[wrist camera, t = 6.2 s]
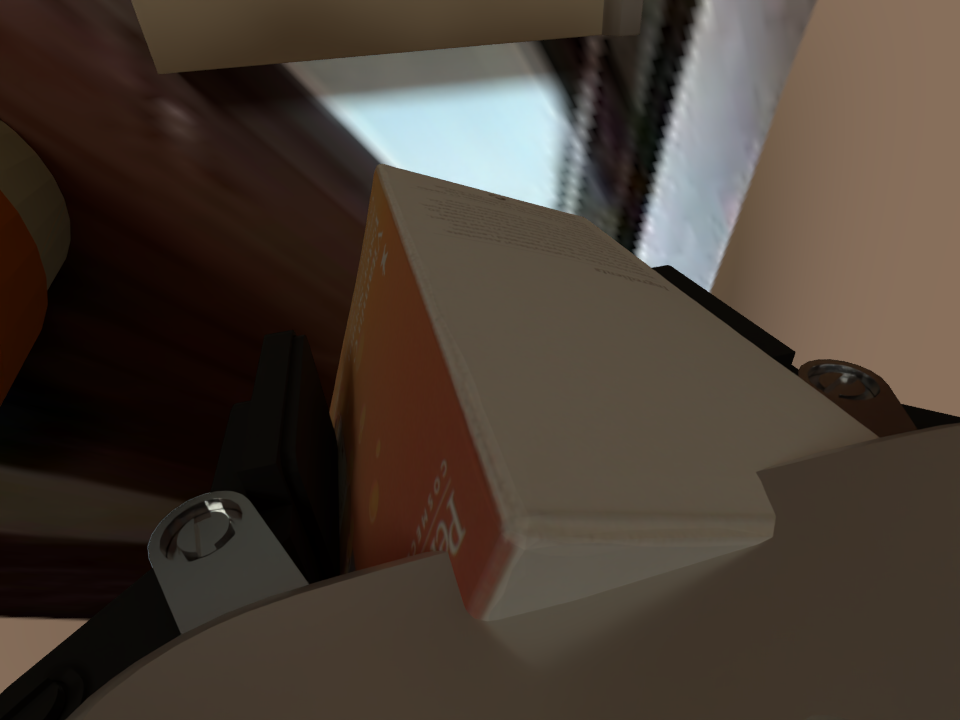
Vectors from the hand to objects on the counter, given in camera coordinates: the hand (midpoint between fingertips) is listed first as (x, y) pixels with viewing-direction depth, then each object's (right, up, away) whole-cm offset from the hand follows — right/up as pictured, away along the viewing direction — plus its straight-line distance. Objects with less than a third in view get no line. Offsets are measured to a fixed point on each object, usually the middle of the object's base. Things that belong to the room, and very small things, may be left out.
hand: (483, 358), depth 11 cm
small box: (-1, +1, +3) cm, 3 cm away
